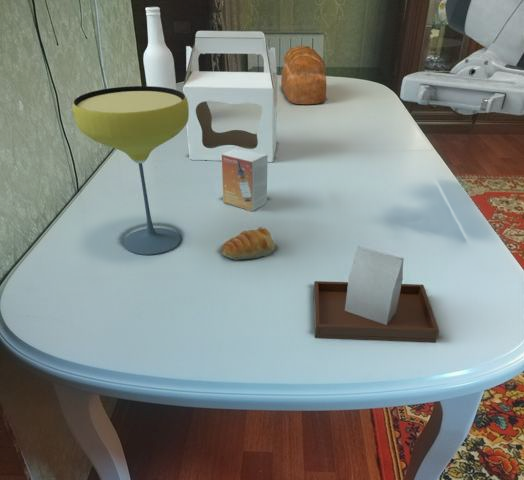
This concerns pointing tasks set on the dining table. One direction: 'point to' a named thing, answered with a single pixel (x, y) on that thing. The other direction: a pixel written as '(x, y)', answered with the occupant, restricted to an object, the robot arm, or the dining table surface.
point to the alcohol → (158, 54)
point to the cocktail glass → (135, 139)
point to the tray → (357, 327)
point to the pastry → (249, 245)
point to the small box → (244, 178)
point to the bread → (303, 76)
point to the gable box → (230, 95)
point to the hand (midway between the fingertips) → (453, 102)
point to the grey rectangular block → (374, 285)
